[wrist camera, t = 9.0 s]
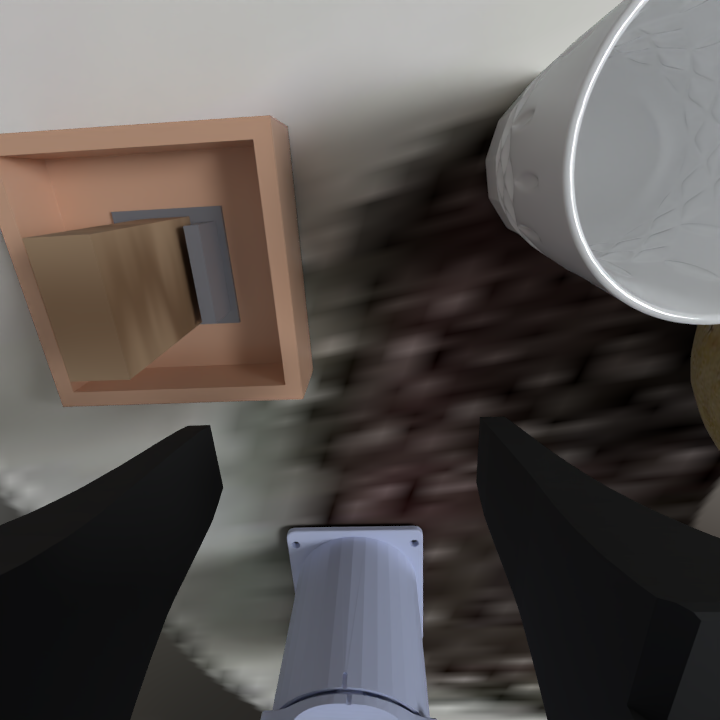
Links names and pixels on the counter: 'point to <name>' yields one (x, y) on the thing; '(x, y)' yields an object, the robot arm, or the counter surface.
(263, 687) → the counter surface
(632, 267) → the white cup
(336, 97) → the counter surface
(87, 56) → the counter surface
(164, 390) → the shallow square frame box
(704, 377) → the fossilized egg
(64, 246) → the tall brown plank
